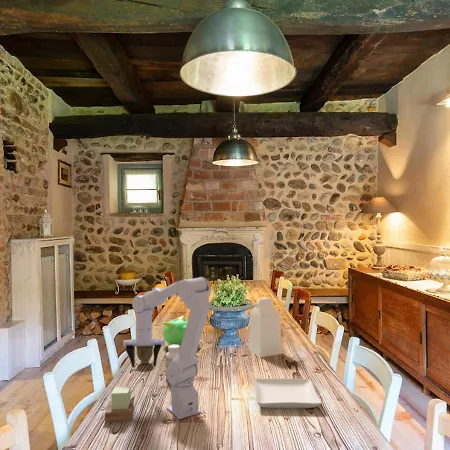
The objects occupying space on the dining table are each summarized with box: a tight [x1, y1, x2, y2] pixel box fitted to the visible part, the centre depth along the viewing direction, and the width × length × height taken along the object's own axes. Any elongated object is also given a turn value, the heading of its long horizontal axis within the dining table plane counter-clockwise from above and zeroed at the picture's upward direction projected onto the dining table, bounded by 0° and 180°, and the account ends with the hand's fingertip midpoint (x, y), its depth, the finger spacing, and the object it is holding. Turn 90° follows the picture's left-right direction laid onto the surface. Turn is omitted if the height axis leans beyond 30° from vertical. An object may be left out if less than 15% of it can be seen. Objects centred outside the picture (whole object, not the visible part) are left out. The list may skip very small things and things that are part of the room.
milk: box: [248, 297, 283, 358], centre depth 186 cm, size 12×12×26 cm
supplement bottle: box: [165, 344, 180, 380], centre depth 153 cm, size 7×7×13 cm
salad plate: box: [254, 378, 322, 409], centre depth 135 cm, size 21×21×3 cm
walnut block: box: [104, 399, 135, 424], centre depth 123 cm, size 8×8×4 cm
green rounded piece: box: [161, 315, 189, 346], centre depth 196 cm, size 18×17×15 cm
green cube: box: [111, 386, 132, 410], centre depth 123 cm, size 5×5×5 cm
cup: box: [135, 346, 154, 365], centre depth 171 cm, size 8×7×8 cm
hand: (144, 366), depth 138 cm, fingers open, 7 cm apart
